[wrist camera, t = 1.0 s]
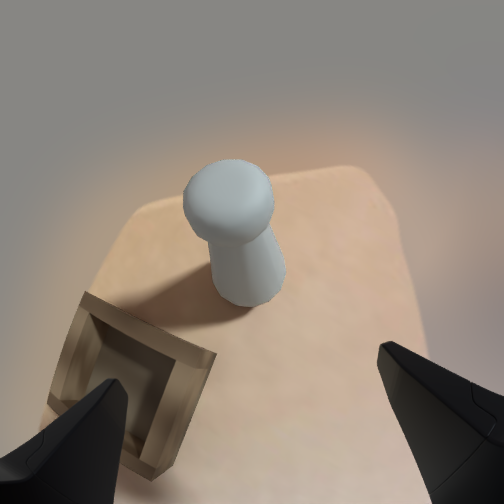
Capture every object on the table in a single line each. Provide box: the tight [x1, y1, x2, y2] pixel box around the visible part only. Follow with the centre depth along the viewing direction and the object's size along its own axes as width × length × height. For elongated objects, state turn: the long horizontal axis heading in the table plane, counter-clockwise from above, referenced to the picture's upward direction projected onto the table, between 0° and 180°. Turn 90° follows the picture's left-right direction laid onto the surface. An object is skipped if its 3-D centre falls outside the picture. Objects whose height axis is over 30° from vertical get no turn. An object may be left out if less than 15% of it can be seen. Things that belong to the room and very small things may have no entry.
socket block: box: [47, 291, 217, 481], centre depth 18 cm, size 11×11×4 cm
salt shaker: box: [183, 160, 286, 307], centre depth 18 cm, size 6×6×13 cm
